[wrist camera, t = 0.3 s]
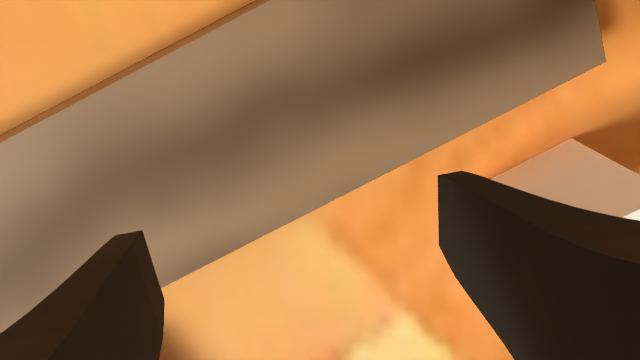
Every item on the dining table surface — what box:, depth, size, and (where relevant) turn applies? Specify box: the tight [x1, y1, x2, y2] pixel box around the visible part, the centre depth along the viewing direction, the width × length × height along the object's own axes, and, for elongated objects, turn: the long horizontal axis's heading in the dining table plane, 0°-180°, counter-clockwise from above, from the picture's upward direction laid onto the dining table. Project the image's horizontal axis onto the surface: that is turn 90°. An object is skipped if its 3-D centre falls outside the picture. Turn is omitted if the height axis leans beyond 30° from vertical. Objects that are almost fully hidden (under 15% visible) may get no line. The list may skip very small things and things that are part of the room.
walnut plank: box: [0, 0, 606, 333], centre depth 20 cm, size 8×30×2 cm, turn 116°
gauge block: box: [491, 138, 640, 221], centre depth 22 cm, size 4×6×6 cm, turn 116°
